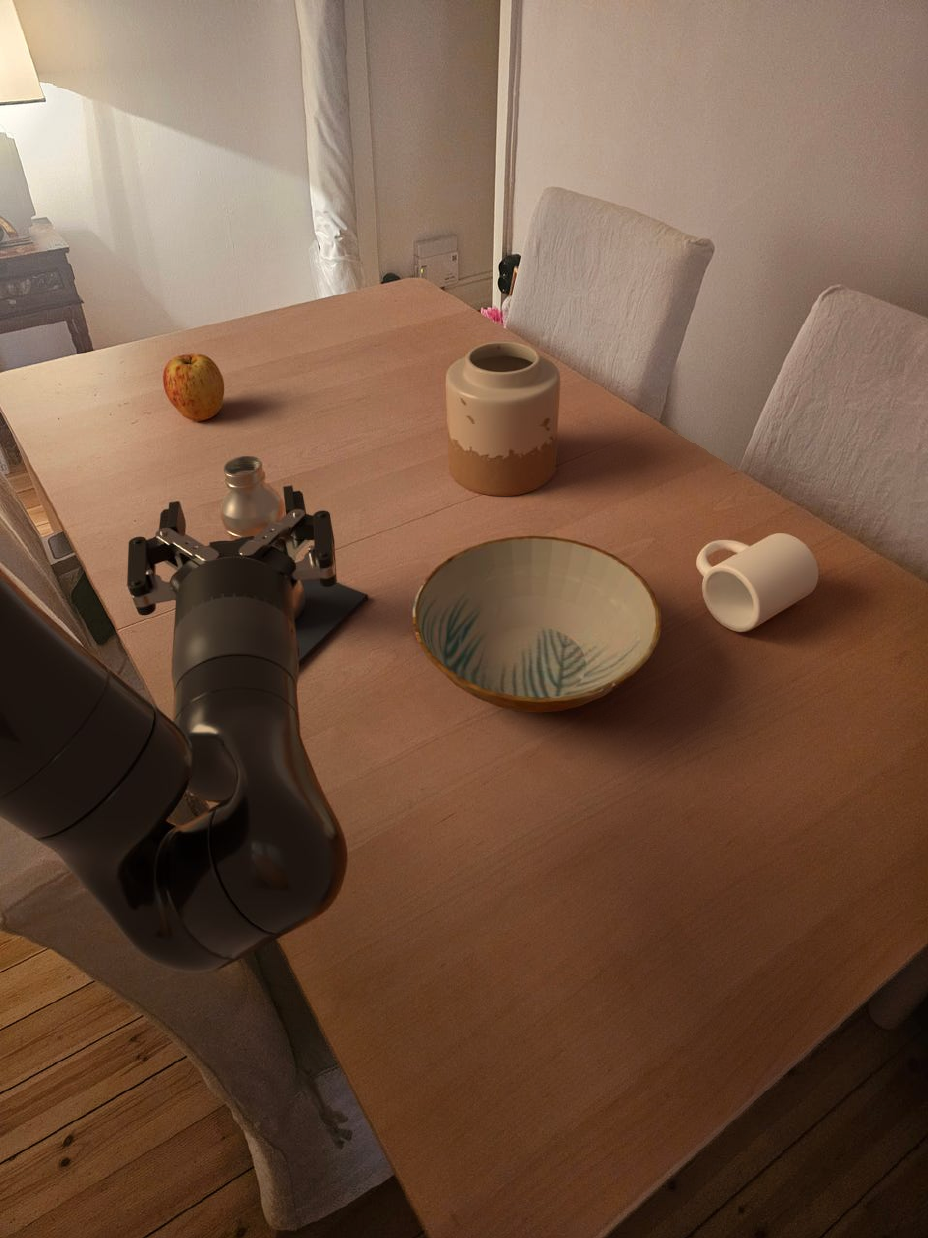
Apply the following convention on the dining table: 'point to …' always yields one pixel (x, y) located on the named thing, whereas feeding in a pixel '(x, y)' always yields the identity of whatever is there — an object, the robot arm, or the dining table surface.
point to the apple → (194, 386)
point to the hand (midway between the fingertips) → (234, 503)
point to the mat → (323, 614)
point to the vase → (502, 419)
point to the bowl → (536, 622)
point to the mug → (756, 579)
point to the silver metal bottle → (253, 507)
